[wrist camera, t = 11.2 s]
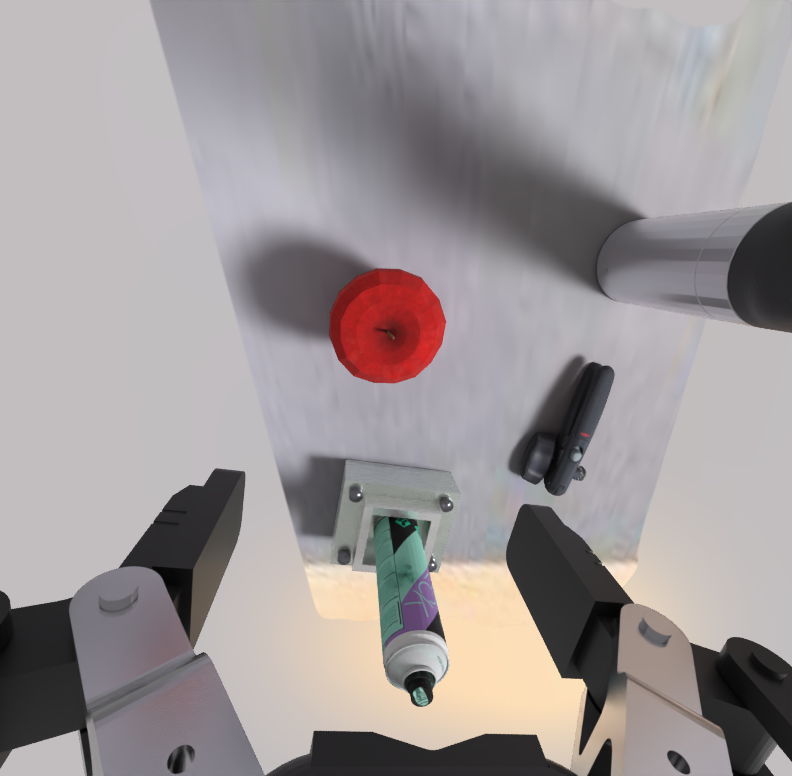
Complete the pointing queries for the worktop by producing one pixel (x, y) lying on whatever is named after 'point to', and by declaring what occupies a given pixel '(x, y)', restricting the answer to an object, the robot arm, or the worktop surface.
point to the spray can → (408, 611)
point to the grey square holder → (391, 510)
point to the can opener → (569, 435)
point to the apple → (386, 326)
